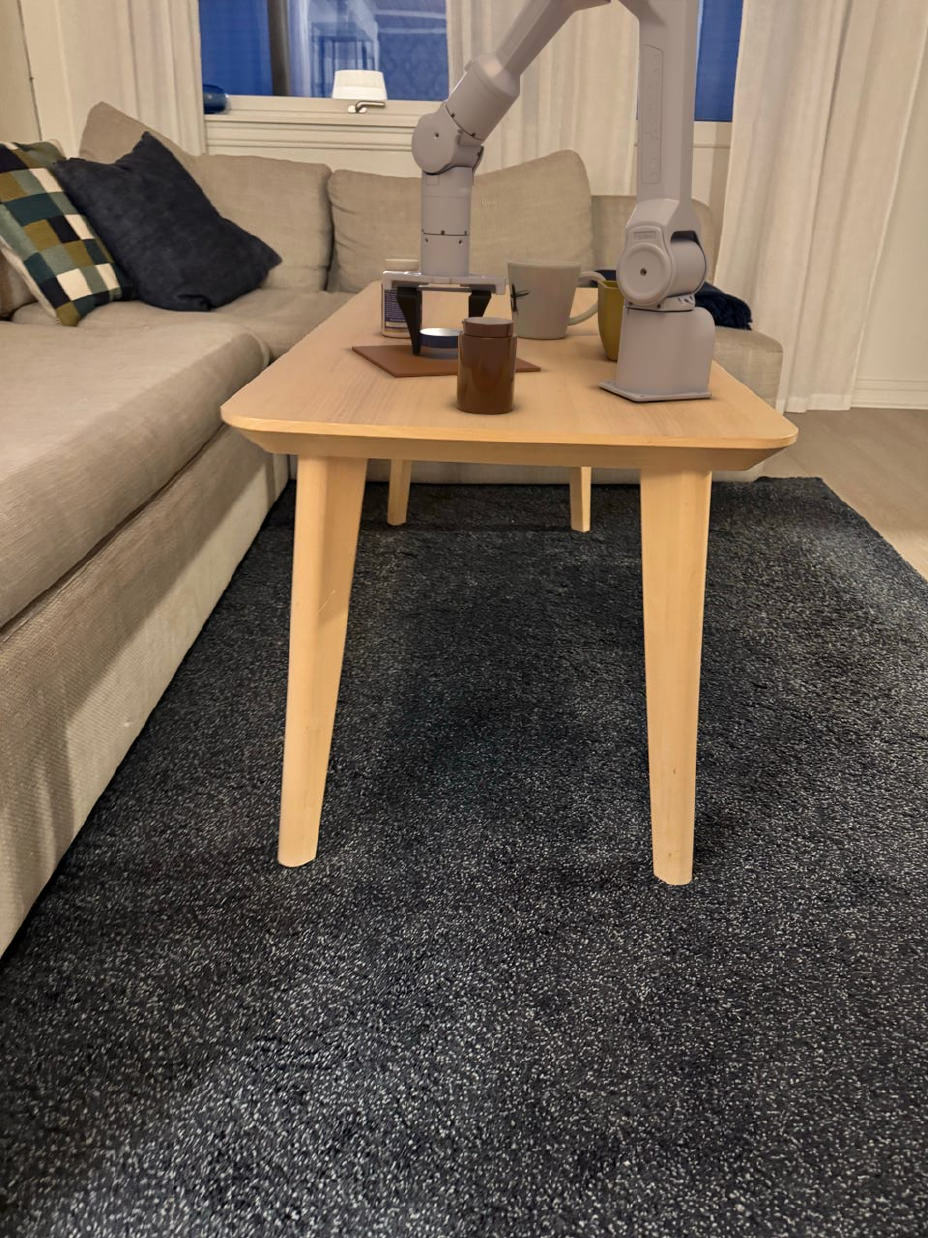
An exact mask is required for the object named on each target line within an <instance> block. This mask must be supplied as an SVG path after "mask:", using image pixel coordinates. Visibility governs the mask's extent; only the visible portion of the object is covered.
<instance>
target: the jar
mask: <svg viewBox="0 0 928 1238" xmlns="http://www.w3.org/2000/svg"><path fill="white" fill-rule="evenodd" d="M461 324H462V331H460V332H459V333H458V363H457V375H456V397H455V399H456V400H455V406H456V408H457V410H460V411H462V412H466V413H470V414H477V415H478V414H479V415H499V414H500V415H501V414H506V413H510V412H512V411H513V410H514V402H515V401H514V399H515V385H516V384H515V383H516V372H515V368H516V357H517V349H518V336H517V334H515V333H513V330H514V321H512V319H510V318H509V319H508V318H503V317H496V316H495V317H492V316H483V317H471V318H468V317H466V318H463V319H462V320H461Z"/></svg>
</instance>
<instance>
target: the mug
mask: <svg viewBox="0 0 928 1238" xmlns="http://www.w3.org/2000/svg"><path fill="white" fill-rule="evenodd" d="M506 264H507V265H506V266H507V277H508V288H509V289H508V291H509V301H510V311H511V312H510V313H511V320H512V321H514V330H513V333H515V334H517V338H523V339H530V340H558V339H562V338H565V337H566V335H567V330H568V327H572V326H576V325H579V324H581V323H583V322H586V321H587V320H589V319H590V318H592V317H593V316H595V315H596V314H598V299H597V300H596V302H595V303H593V305H592V306H590V308H589V309H587V310H586V311H584V312H582V313H581V314H580V313H579V314H578V315H576V316H573V317H571V314H572V313H571V312H572V309H573V304H574V300H575V296H576V291H577V287H578V282H579V283H580V282H583V281H588V280H589V281H590V280H591V281H594V282H596V283H598V281H607V280H606V278H605V277H604V275H602V274H601V273H600V272H596V271H592V270H586V271H582V272H581V269H582V264H581V263H580V262H576V261H571V260H561V259H550V258H549V259H548V258H547V259H546V258H512V259H508V260H507V262H506Z"/></svg>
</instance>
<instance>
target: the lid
mask: <svg viewBox="0 0 928 1238" xmlns="http://www.w3.org/2000/svg"><path fill="white" fill-rule="evenodd" d="M460 331H463V329H456V328H443V327H441V328H440V327H439V328H438V327H437V328H436V327H435V328H424V329H423V328H422V330H420V331H419V335H418V337H419V344H420V345H422V346H425V347H431V348H445V349H451V348H458V333H459V332H460Z"/></svg>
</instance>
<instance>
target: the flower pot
mask: <svg viewBox="0 0 928 1238" xmlns="http://www.w3.org/2000/svg"><path fill="white" fill-rule="evenodd" d="M624 299H625V297H624V296H623V294H622V293H621V291H620V289H619V287H618V284H617V280H606V281H598V282H597V300H598V312H597V325H598V326H597V327H598V332H599V336H600V340H601V341H600V342H601V344H602V347H603V350H604V353H605V355H606V356H607V357H608V359H609V360H611V361H614V362H615V361H617V362H618V353H619V344H620V334H621V325H622V315H623V306H624Z"/></svg>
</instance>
